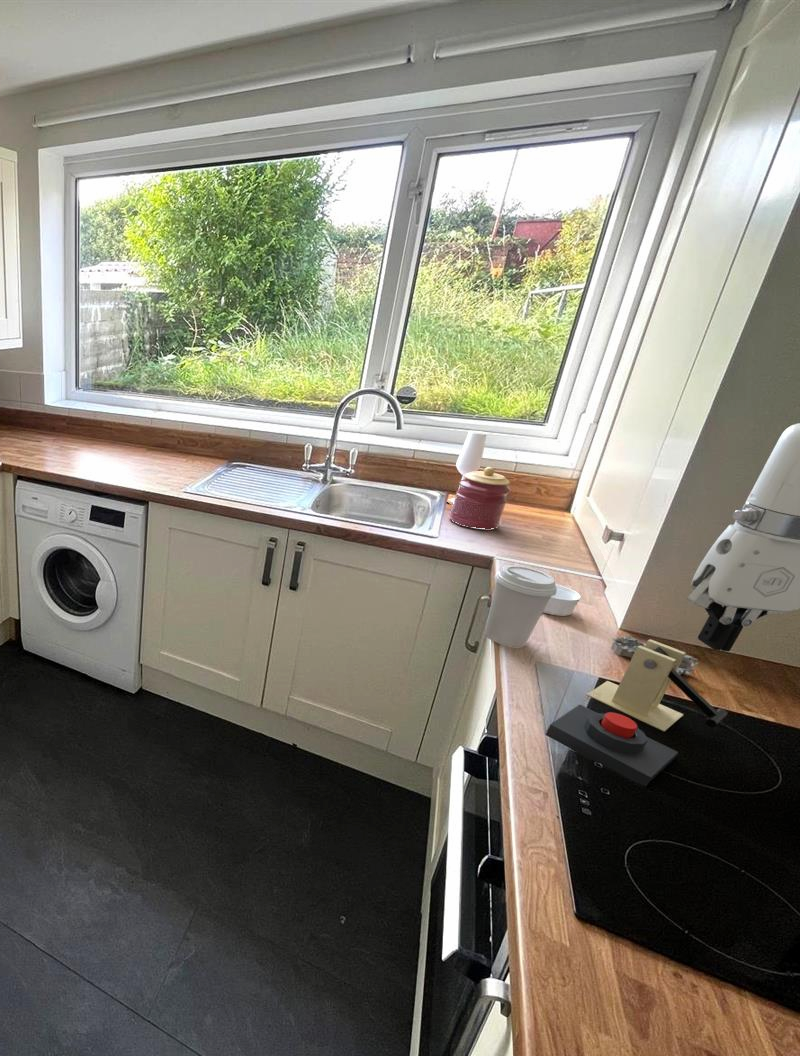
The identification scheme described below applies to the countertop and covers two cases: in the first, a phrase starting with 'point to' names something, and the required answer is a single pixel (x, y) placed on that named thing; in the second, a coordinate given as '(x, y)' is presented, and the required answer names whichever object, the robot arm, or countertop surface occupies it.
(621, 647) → the egg carton
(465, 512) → the kitchen canister
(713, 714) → the lever
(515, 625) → the coffee cup
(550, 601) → the ramekin
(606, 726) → the button
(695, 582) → the robot arm
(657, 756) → the button block
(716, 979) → the countertop surface
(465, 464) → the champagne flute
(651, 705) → the beige lever stand
